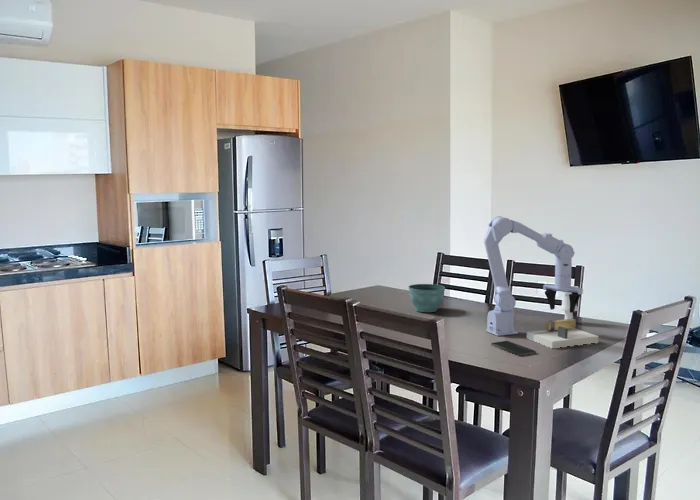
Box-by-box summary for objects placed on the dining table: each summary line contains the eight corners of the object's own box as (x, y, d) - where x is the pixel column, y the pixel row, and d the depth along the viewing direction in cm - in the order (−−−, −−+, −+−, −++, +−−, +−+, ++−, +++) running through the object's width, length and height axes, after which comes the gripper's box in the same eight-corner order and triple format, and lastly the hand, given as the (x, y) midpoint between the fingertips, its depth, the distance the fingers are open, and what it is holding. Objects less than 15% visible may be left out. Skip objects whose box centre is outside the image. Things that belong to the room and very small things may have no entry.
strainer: (581, 324, 231) (582, 287, 229) (564, 325, 230) (566, 288, 228) (571, 320, 238) (573, 284, 236) (555, 320, 237) (557, 285, 235)
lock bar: (549, 331, 209) (550, 322, 209) (544, 329, 212) (545, 321, 211) (576, 328, 213) (576, 320, 213) (570, 326, 216) (571, 318, 215)
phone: (519, 354, 188) (490, 343, 201) (519, 357, 188) (489, 346, 201) (537, 351, 191) (507, 340, 205) (537, 354, 191) (507, 343, 205)
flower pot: (413, 305, 266) (413, 282, 265) (447, 308, 261) (448, 284, 259) (403, 312, 252) (404, 288, 250) (440, 315, 246) (440, 291, 244)
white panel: (552, 348, 197) (552, 331, 196) (526, 338, 210) (527, 322, 209) (598, 343, 204) (599, 326, 203) (570, 333, 217) (571, 317, 216)
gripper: (586, 275, 212) (585, 311, 214) (549, 271, 223) (548, 306, 224) (578, 278, 208) (577, 314, 209) (541, 274, 218) (540, 309, 219)
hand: (562, 310), depth 216 cm, fingers open, 7 cm apart
